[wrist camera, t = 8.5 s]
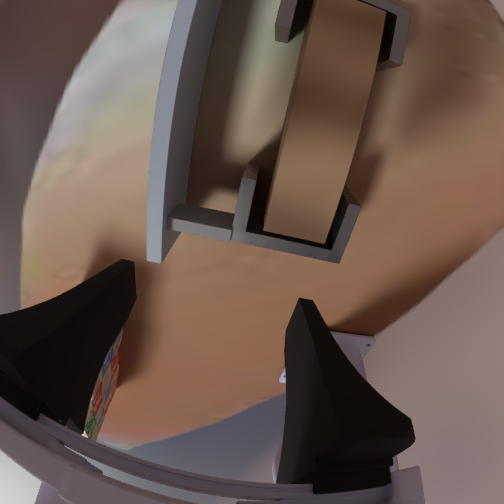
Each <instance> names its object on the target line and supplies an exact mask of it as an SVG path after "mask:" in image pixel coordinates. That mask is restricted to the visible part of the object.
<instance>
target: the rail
mask: <svg viewBox="0 0 504 504" xmlns="http://www.w3.org/2000/svg"><path fill="white" fill-rule="evenodd" d="M385 17H386V12H385V11H383V10H381V9H378V8H376V7H373V6H371V5H368V4H366V3H363V2H360V1H357V0H314V2H313V5H312V7H311V10H310V12H309V15H308V19H307V24H306V28H305V33H304V37H303V42H302V46H301V50H300V55H299V59H298V63H297V68H296V72H295V77H294V81H293V85H292V90H291V94H290V99H289V103H288V107H287V112H286V116H285V120H284V125H283V129H282V133H281V138H280V142H279V146H278V151H277V155H276V160H275V164H274V168H273V173H272V177H271V181H270V186H269V190H268V194H267V199H266V206H265V217H264V228H263V231H268V232H273V233H277V234H282V235H286V236H291V237H296V238H300V239H305V240H309V241H314V242H318V243H323V244H325V241H326V238H327V235H328V233H329V230H330V227H331V224H332V221H333V218H334V215H335V212H336V209H337V206H338V203H339V200H340V197H341V194H342V191H343V188H344V185H345V181H346V178H347V175H348V172H349V168H350V165H351V162H352V158H353V155H354V151H355V148H356V145H357V141H358V137H359V134H360V130H361V126H362V123H363V119H364V115H365V111H366V107H367V103H368V99H369V95H370V91H371V87H372V82H373V78H374V74H375V69H376V64H377V60H378V55H379V50H380V45H381V40H382V34H383V29H384V23H385Z"/></svg>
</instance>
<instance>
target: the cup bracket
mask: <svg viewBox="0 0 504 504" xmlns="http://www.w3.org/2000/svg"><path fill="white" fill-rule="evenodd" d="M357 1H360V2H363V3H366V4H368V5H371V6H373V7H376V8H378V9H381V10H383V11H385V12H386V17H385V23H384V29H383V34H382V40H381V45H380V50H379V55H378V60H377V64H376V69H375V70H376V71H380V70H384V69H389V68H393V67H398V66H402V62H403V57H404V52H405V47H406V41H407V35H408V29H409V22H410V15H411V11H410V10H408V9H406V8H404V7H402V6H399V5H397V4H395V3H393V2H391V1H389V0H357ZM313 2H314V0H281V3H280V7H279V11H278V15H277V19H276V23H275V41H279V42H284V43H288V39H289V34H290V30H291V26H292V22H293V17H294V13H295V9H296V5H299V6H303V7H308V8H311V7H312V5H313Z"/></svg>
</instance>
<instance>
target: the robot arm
mask: <svg viewBox="0 0 504 504" xmlns="http://www.w3.org/2000/svg"><path fill="white" fill-rule="evenodd" d="M136 298H137V295H136V283H135V267H134V262H132V261H128V260H124V259H121V260H119V261H118V262H116V263H114V264H112V265H111V266H109V267H108V268H106V269H104V270H103V271H101V272H99V273H98V274H96V275H95V276H93V277H91V278H90V279H88V280H86V281H85V282H83V283H81V284H79V285H77V286H76V287H74V288H72V289H70V290H69V291H67V292H65V293H63V294H61V295H59V296H56V297H54V298H52V299H50V300H47V301H45V302H42V303H40V304H37V305H34V306H32V307H29V308H26V309H22V310H19V311H15V312H12V313H7V314H2V315H0V450H1V451H2V452H4V453H5V454H6V455H7V456H8V457H10V458H11V459H12V460H13V461H14V462H16V463H17V464H19V465H20V466H21V467H22V468H24V469H25V470H26V471H28V472H29V473H30V474H32V475H33V476H35V477H36V478H38V479H39V480H41V481H42V483H41V486H40V489H39V492H38V495H37V499H36V502H35V504H197V503H193V502H188V501H184V500H180V499H176V498H172V497H168V496H165V495H161V494H158V493H154V492H151V491H148V490H144V489H141V488H138V487H135V486H132V485H129V484H126V483H124V482H121V481H118V480H115V479H113V478H110V477H108V476H105V475H103V472H102V471H101V470H100V469H98V468H97V467H95V466H93V465H92V464H91V463H89V462H88V461H87V460H86V459H85V458H83V457H82V456H80V455H78V454H76V453H75V452H73V451H71V450H69V449H68V448H66V447H65V446H67V447H69V448H71V449H73V450H75V451H77V452H79V453H81V454H83V455H85V456H87V457H89V458H91V459H94V460H96V461H98V462H100V463H103V464H105V465H108V466H110V467H113V468H116V469H118V470H121V471H123V472H126V473H129V474H131V475H134V476H137V477H141V478H143V479H147V480H150V481H153V482H157V483H160V484H164V485H167V486H171V487H176V488H179V489H184V490H188V491H193V492H199V493H203V494H209V495H215V496H222V497H230V498H237V499H247V500H261V501H238V502H236V504H425V500H424V492H423V484H422V478H421V472H420V467H419V466H415V467H411V468H406V469H402V470H399V469H398V460H397V455H398V454H399V453H401V452H403V451H404V450H406V449H407V448H409V447H410V446H411V445H412V444H413V443H414V442H415V434H414V430H413V425H412V421H411V419H410V418H409V417H408V416H406V415H405V414H403V413H402V412H401V411H399V410H398V409H397V408H395V407H394V406H393V405H392V404H390V403H389V402H388V401H387V400H386V399H384V398H383V397H382V396H381V395H380V394H379V393H378V392H377V391H376V390H375V389H374V388H373V387H372V386H371V385H370V384H369V383H368V382H367V378H366V374H365V369H364V365H363V360H362V359H363V358H364V356H365V355H366V354H367V352H368V351H369V350H370V348H371V346H372V345H373V344H374V342H375V338H374V337H372V336H363V335H355V334H347V333H340V332H332V331H330V330H329V329H328V327H327V325H326V323H325V322H324V320H323V318H322V316H321V314H320V312H319V311H318V309H317V307H316V305H315V303H314V302H313V300H309V299H303V298H299V299H298V302H297V304H296V307H295V309H294V312H293V314H292V317H291V319H290V321H289V324H288V326H287V329H286V335H285V348H284V355H285V368H284V370H283V372H282V374H281V376H280V377H279V381H280V382H282V383H286V414H285V425H284V434H283V442H282V443H281V444H280V446H279V447H278V449H277V451H276V453H275V455H274V459H273V464H272V474H273V480H274V483H259V482H248V481H239V480H231V479H224V478H218V477H212V476H206V475H201V474H196V473H191V472H187V471H182V470H179V469H174V468H170V467H167V466H163V465H160V464H156V463H153V462H149V461H146V460H143V459H140V458H137V457H134V456H131V455H128V454H126V453H123V452H120V451H117V450H115V449H112V448H110V447H107V446H105V445H102V444H100V443H98V442H95V441H93V440H91V439H89V438H87V437H84V436H82V434H84V428H85V423H86V418H87V413H88V409H89V405H90V401H91V398H92V394H93V391H94V388H95V385H96V382H97V379H98V376H99V373H100V371H101V368H102V365H103V363H104V360H105V358H106V356H107V354H108V352H109V350H110V348H111V347H112V345H113V343H114V341H115V339H116V338H117V336H118V334H119V332H120V331H121V329H122V327H123V325H124V324H125V322H126V320H127V318H128V317H129V315H130V312H131V310H132V308H133V305H134V303H135V300H136ZM64 445H65V446H64Z"/></svg>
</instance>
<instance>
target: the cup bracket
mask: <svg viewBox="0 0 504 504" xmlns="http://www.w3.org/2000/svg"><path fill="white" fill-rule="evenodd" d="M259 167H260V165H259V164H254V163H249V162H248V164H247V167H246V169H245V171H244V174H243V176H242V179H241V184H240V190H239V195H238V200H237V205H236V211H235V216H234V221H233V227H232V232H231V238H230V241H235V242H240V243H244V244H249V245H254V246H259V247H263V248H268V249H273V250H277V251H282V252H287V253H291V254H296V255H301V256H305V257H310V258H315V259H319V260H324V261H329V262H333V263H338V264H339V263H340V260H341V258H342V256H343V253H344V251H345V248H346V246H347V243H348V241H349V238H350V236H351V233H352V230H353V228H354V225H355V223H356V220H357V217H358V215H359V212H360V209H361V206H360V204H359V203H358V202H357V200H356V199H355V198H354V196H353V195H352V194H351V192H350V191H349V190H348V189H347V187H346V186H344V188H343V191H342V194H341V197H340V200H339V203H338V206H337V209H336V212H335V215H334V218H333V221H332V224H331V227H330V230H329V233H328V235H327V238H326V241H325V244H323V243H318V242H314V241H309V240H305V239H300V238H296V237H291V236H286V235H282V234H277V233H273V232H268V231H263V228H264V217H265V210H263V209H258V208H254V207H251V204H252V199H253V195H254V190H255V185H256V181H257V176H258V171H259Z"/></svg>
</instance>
